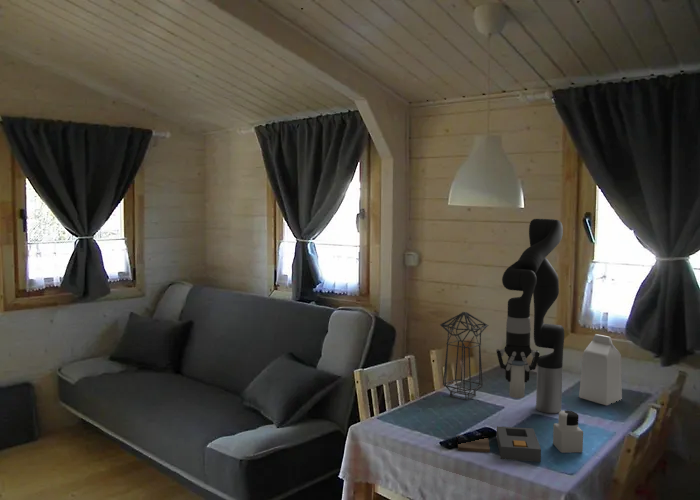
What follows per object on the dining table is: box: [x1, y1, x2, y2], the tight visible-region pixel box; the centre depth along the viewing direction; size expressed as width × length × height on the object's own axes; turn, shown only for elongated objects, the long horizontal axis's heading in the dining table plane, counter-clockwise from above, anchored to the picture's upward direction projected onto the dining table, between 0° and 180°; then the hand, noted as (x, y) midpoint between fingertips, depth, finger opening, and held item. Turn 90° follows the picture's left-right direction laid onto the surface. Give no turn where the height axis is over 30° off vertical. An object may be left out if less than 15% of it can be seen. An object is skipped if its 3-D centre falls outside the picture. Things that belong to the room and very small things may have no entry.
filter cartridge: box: [508, 360, 526, 399], centre depth 195 cm, size 5×5×12 cm
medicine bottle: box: [552, 410, 584, 454], centre depth 193 cm, size 7×7×12 cm
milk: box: [578, 333, 623, 406], centre depth 241 cm, size 12×12×26 cm
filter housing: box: [495, 425, 542, 463], centre depth 193 cm, size 17×12×4 cm
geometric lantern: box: [439, 311, 489, 401], centre depth 245 cm, size 16×16×35 cm
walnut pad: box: [457, 434, 491, 453], centre depth 196 cm, size 10×10×1 cm
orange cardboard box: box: [513, 440, 527, 447], centre depth 187 cm, size 4×4×4 cm
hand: (517, 381), depth 195 cm, fingers closed on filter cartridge, 4 cm apart
